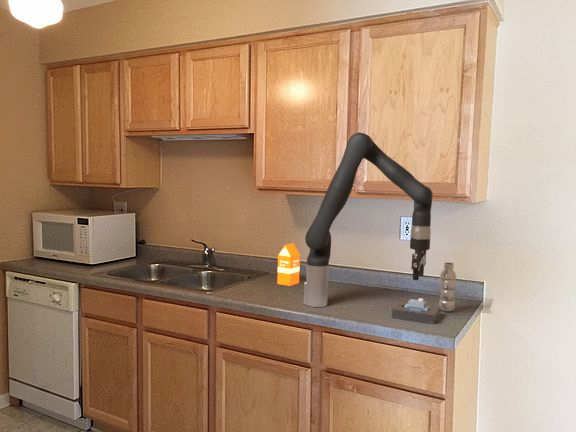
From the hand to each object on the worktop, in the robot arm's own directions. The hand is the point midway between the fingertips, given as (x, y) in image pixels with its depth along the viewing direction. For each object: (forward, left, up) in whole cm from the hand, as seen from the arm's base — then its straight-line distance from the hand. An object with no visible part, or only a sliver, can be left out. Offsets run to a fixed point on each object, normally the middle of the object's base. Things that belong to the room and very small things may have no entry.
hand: (418, 278), depth 193 cm
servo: (0, 0, -15) cm, 15 cm away
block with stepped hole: (0, 0, -16) cm, 16 cm away
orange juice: (-70, +25, -16) cm, 76 cm away
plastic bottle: (+9, +15, -16) cm, 24 cm away
